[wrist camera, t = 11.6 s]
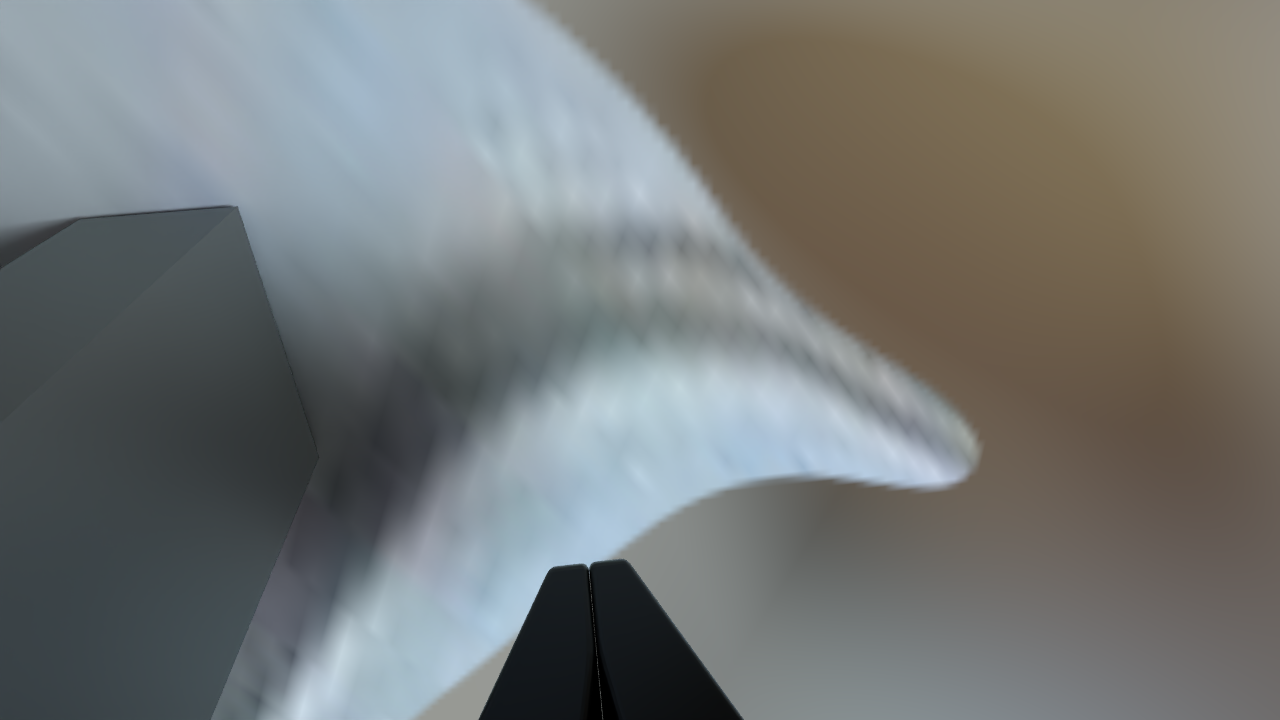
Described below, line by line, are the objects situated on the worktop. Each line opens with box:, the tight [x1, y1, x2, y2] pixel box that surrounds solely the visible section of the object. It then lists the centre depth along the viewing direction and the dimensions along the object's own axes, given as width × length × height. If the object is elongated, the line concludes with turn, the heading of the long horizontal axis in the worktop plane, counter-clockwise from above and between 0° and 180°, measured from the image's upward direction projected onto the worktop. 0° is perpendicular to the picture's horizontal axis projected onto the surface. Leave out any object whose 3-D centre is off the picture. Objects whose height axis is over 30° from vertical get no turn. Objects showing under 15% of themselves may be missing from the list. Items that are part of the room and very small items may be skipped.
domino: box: [0, 206, 319, 720], centre depth 9 cm, size 2×5×9 cm, turn 3°
